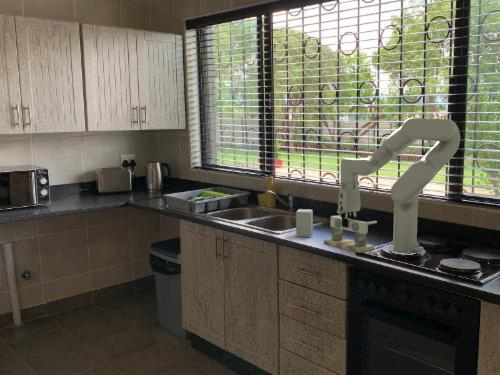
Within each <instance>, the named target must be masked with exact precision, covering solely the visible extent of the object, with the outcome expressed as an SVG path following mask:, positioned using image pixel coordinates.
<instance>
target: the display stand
mask: <svg viewBox="0 0 500 375" xmlns="http://www.w3.org/2000/svg"><path fill="white" fill-rule="evenodd" d="M343 231H344V229H339V228H335V227H331V238H328V239H324V240H323V244H324V245H328V246H332V247H336V248H339V249H343V250H346V251H347V250H348V251H351V252H353V253H354V252H355V253H357V254H358V253H363V252H368V251H372V250H375V245H372V244H369V243H367V234H361V233H357V232H354V240H353V239H348V238H345V237H343Z"/></svg>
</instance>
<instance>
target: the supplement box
mask: <svg viewBox="0 0 500 375" xmlns="http://www.w3.org/2000/svg"><path fill="white" fill-rule="evenodd" d="M313 212H314V210H313V209H308V208H307V209H303V208H298V209H297V211H295V217H296V218H295V220H296V222H295V224H296V225H295V226H296V228H295V230H296V237H297V236H301V238H311V237H313V235H314V229H313V228H314V225H313V224H314V223H313V222H314V221H313V220H314V218H313V217H314V214H313Z"/></svg>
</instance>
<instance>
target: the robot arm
mask: <svg viewBox="0 0 500 375" xmlns="http://www.w3.org/2000/svg"><path fill="white" fill-rule="evenodd" d="M460 133H461V132H460V129H459V127H458V125H457V123H456V122H455V121H454V120H452V119H449V118H421V117H420V118H419V117H409V118H407V119H406V120H405V121H403V123H402V125H401V126H399V128H397V129H396V130H395V131H393V132H392V133H390V135H389V136H387V137H386V138H385V139H384V141H383V142H382V144H381V145H380V146H379V147H378V148H377V149H376V150H375V151H373V152H372V153H371V154H370V155H368V156H367V157H364V158H357V157H356V158H355V157H343V158H341V160H340V184H339V188H340V189H339V192H338V201H337V202H338V203H337V207H338V208H337V210H336V213H337V215H340V216H341V218H342V227H346V228H347V227H348V219H353V220H356V218H357V215H358V213H359V212H360V211H361V192H360V188H359V176H370V175H372V174H374V173H376V172H377V171H379V170H380V169H382V168H383V167H384V166H386V165H387V164H388V163H389V162H391V161H392V160H393V159H394V158H396V157H397V156H398V155H400V154H401V153H403V152H404V151H405V150H406V149H407V148H408V147H409V148H410V146H411V145H412V144H414V143H415V142H416V141H418V140H419V141H420V140H422V141H435V143H434V145H433V146H432V147H431V148H429V150H428V151H427V152H426V153H425V154H424V156H422V158H421V159H420V160H417V161H416V162H414V163H412V164H411V165H410V166H409V167H408V168H407V169H406V170H405V171H404V173H403V174H402V175H401V176H400V177H399V178H398V179H397V180H395V182H394V184H392V186H391V187H390V198H391V199H392V201H393V202H394V206H393V207H394V208H393V232H392V233H393V235H392V236H393V239H392V246H391V247H389V249H388V251H389V250H391V251H393V252H397V253H405V254H406V253H407V254H411V253H418V252H420V253H419V254H421V253H423V251H424V247H423V246H419V244H420V242H418V241H417V240H418V239H417V237H418V236H417V235H418V234H417V233H418V213H419V212H418V211H419V210H418V208H419V198H420V192H421V191H422V190H424V188H426V186H427V185H428V184H429V183H431V181H433V179H434V178H435V177H436V175H437V174H439V172H440V171H441V170H442V169H443V168H444V167H445V166H446V164H447V163H448V162H449V161H450V160H451V159H452V158H453V157H454V155H455V154H456V153H457V151H458V149H459V146H460V143H461V134H460ZM348 214H349V216H348ZM347 218H348V219H347Z"/></svg>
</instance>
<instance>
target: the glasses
mask: <svg viewBox="0 0 500 375" xmlns="http://www.w3.org/2000/svg"><path fill="white" fill-rule="evenodd" d="M347 219H348V227H347V228H346V227H342V218H341V216H340V215H339V214H337V215H331V216H330V227H331V228H332V227H335V228H339V229H343V231H349V232H354V233H355V232H357V233H361V234H366V235H367V234H368V233H369V231H368V230H369V225H373V224H377V223H378V221H377V220H373V221H364V220H363V221H362V220H357V219H355V220H353V219H349V217H347Z"/></svg>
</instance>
